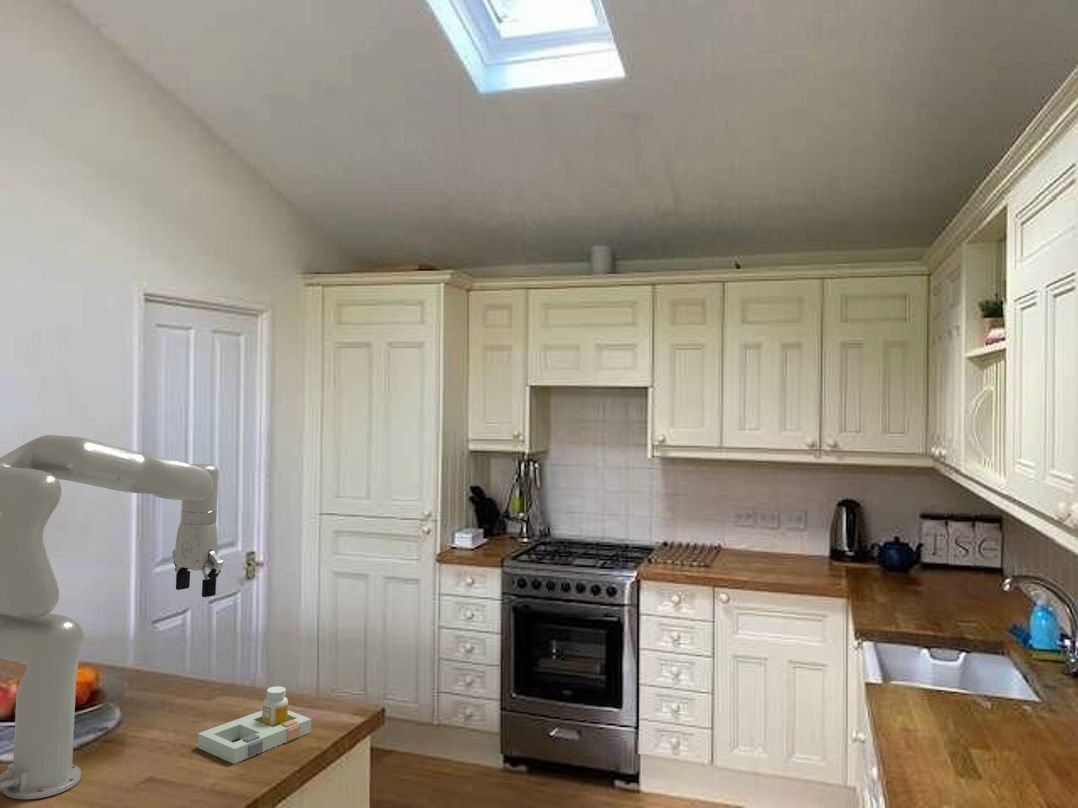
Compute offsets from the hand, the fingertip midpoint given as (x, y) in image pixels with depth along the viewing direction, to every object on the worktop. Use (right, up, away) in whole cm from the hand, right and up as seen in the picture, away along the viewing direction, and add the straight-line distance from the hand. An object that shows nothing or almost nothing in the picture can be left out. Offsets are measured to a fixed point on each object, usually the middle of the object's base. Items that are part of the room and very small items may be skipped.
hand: (195, 592), depth 187 cm
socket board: (+18, -29, -11) cm, 36 cm away
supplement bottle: (+20, -30, -7) cm, 37 cm away
